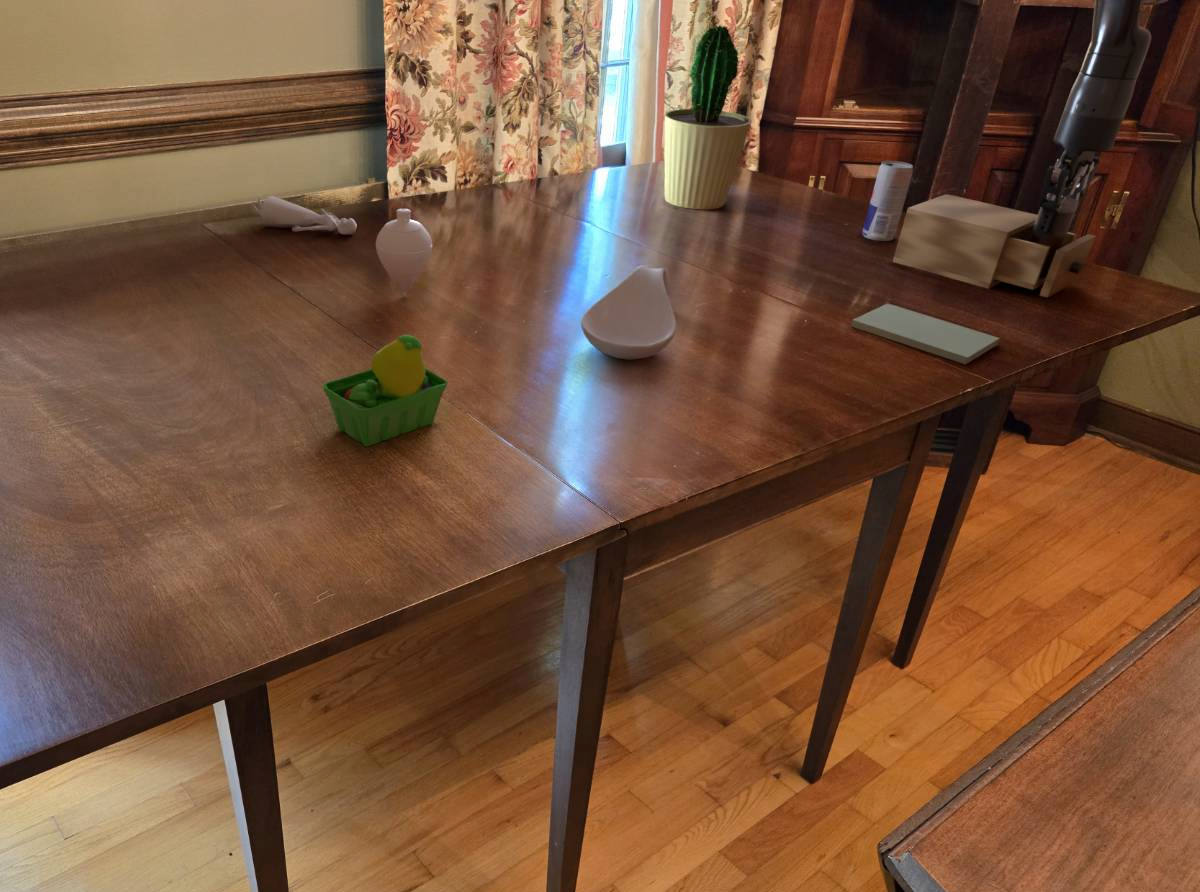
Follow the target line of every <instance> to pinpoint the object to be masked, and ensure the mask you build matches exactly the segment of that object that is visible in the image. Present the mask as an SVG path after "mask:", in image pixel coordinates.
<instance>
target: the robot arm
mask: <svg viewBox="0 0 1200 892" xmlns="http://www.w3.org/2000/svg"><path fill="white" fill-rule="evenodd" d="M1165 2H1168V0H1094V7H1093V17H1092V24H1091V25H1092V26H1091V27H1092V28H1091V38H1090V43H1089V44H1088V48H1087V50H1086V53H1085V56H1084V59H1083V61H1082V64H1081V67H1080V70H1079V73H1078V75H1077V77H1076V79H1075V81H1074V83H1073V85H1072V87H1071V90H1070V92H1069V95H1068V98H1067V100H1066V103H1065V106H1064V109H1063V111H1062V115H1061V116H1060V120H1059V123H1058V125H1057V128H1056V131H1055V134H1054V137H1053V142H1054V143H1055V144H1056V145H1057V146H1059V147H1063V149H1064V151H1063V152H1062V154H1061V156H1060V158H1058V159H1057V160H1056V162H1055V164H1054V166H1053V165H1050V166H1049V167H1048V168H1047V170H1046V175H1045V177H1044V178H1045V179H1044V183H1043V186H1042V189H1041V193H1040V196H1039V197H1040V198H1039V201H1038V204H1037V205H1038V206H1037V207H1039V208H1041V207H1042V208H1041V209H1043V211H1042V214H1041V216H1040V219H1039V222H1038V225H1037V227H1036V230H1035V235H1036V236H1039V237H1043V238H1049V237H1051V236H1052V233H1053V231H1054V228H1055V225H1056V223H1057V220H1058V217H1059V215H1060V212H1061V210H1062V209H1063V206H1064V204H1065V201H1066V199H1067V198H1068V197H1069V198H1073V199H1075V200H1077V201H1079V200H1080V201H1081V200H1082V199H1083V198H1084V196H1085V195H1086V192H1087V190H1088V187H1089V185H1090V183H1091V181H1092V178H1093V176H1094V174H1095V173H1096V169H1097V168H1098V165H1099V164H1100V162H1101V157H1098V156H1095V155H1096V153H1097V152H1098V153H1099V152H1101V153H1102V152H1107V151H1110V150H1111V149H1112V148H1113V147H1114V144H1115V142H1116V139H1117V137H1118V133H1119V131H1120V128H1121V127H1122V123H1123V121H1124V120H1125V119H1124V118H1125V116H1126V113H1127V110H1128V108H1129V106H1130V103H1131V100H1132V98H1133V94H1134V90H1135V87H1136V82H1137V80H1138V77H1139V74H1140V72H1141V70H1142V67H1143V64H1144V62H1145V59H1146V56H1147V53H1148V51H1149V48H1150V44H1151V41H1152V34H1151V32H1150V30H1148V29H1147V28H1145V27H1142V26H1140V25H1139V21H1140V11H1141V6H1154V5H1155V6H1156V5H1160V4H1163V3H1165ZM1053 195H1055V196H1056V197H1055V200H1051V198H1052V196H1053Z"/></svg>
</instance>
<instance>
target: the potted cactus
mask: <svg viewBox="0 0 1200 892" xmlns="http://www.w3.org/2000/svg"><path fill="white" fill-rule="evenodd" d="M708 24H710V25H711V26H710V27H709V28H707V30H703V33H701V34H702V35H701V34H699V37H700V39H698V40H697V41H694V44H695V45H697V46H696V47H694V49H693V48H691V50H692V51H693V54H694V55H693V57H690V60H691V64H690V66H689V67H688V66H687V68H688V69H689V70H688V69H684V71H685V72H688V73H689V74H686V77H689V75H690V82H689V84H687V87H689V88H691V89H690V93H688V94H687V95H686V97H687V98H686V99H690V100H689V102H690V104H689V105H688V106H689V108H678V109H673V110H669V111H666V112H665V113H664V200H665V202H667V203H668V204H670V205H673V206H675V207H680V208H685V209H689V210H716V209H719V208H722V207H724V205H725V204H726V202H727V198H728V195H729V192H730V189H731V186H732V183H733V180H734V178H735V177H734V176H735V173H736V170H737V167H738V164H739V161H740V158H741V155H742V152H743V149H744V145H745V142H746V139H747V136H748V133H749V130H750V126H751V124H752V119H751V118H750V117H749V116H746V115H743V114H740V113H736V112H732V111H731V112H730V111H727V109H726V106H725V105H727V103H726V102H728V103H731V101H730V100H729V99H728V98H730V97H732V95H733V93H731V92H730V91H734V88H735V89H737V88H736V86H734V82H735V81H736V80H738V78H737V77H739V75H741V74H740V72H741V73H743V70H741V69H742V64H741V60H739V59H741V56H739V52H738V50H739V49H740V47H738V48H737V46H736V45H737V42H736V41H738V39H737V40H736V38H734V35H733V34H734V33H735V30H733V28H734V26H732V27H731V28H729V27H728V26H725V25H722V24H719V25H714V26H712V24H711V21H710V22H709V23H708ZM730 32H731V33H730ZM735 44H736V45H735ZM736 48H737V49H736ZM689 52H690V53H691V51H689ZM741 53H743V52H740V54H741ZM692 62H693V63H692ZM739 66H740V67H739ZM738 72H739V73H738ZM733 81H734V82H733ZM731 85H733V87H734V88H732V86H731ZM690 97H691V98H690ZM727 97H728V98H727Z"/></svg>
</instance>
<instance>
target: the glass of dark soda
mask: <svg viewBox="0 0 1200 892" xmlns="http://www.w3.org/2000/svg"><path fill="white" fill-rule="evenodd" d="M1055 197H1056V196H1055V194H1054V195H1053V196H1052V198H1051V200H1055ZM1079 203H1080V201H1079V200H1078V201H1077V200H1075V199H1073V198H1069V197H1068V198H1067V199H1066V201H1065V204H1064V206H1063V209H1062V210H1061V212H1060V215H1059V217H1058V220H1057V223H1056V225H1055V228H1054V231H1053V233H1052V236H1051V237H1049V238H1043V237H1039V236H1036V235H1035V230H1036V227H1037V225H1038V222H1039V219H1040V216H1041V214H1042V211H1043V209H1041V208H1042V207H1039V210H1038V213H1037V215H1038V216H1037V219H1036V221H1035V224H1034V227H1033V230H1032V232H1031V235H1030V238H1029V241H1028V242H1032V243H1036V244H1040V245H1045V246H1049V247H1050V250H1049V253H1048V255H1047V258H1046V261H1045V263H1044V266H1043V269H1042V271H1041V274H1040V277H1039V278H1046V277H1047V274H1048V272H1049V269H1050V267H1051V264H1052V261H1053V259H1054V256H1055V253H1056V251H1057V250H1058V249H1060V248H1062V245H1063V243H1064V240H1065V238H1066V235H1067V232H1069V229H1070V227H1071V224H1072V222H1073V219H1074V217H1075V215H1076V214H1075V213H1076V212H1077V208H1078V206H1079Z"/></svg>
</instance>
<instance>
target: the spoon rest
mask: <svg viewBox="0 0 1200 892" xmlns="http://www.w3.org/2000/svg"><path fill="white" fill-rule="evenodd" d="M669 289H670V288H669V281H668V275H667V270H666V269H665V268H664V267H661V268H660V267H659V268H652V267H648V266H646V265H644V264H641V265H638V266H637V267H636V268H634V270H633V271H632V272H631V273H630V274H629V275H628V276H627V277H626V278H625V279H624V280H623V281H621V282H620V283H619V284H618V285H617V286H615V287H614V288H613V289H612V290H610V291H609V292H607V293H606V294H605V295H603V296H602V297H601V298H600V299H599V300H597V301H596V302H595V303H594V304H593V305H591V307H590V308H588V309H587V310H586V311H585V312H584V314H583V315H582V317H581V319H580V328H581V330H582V333H583V335H584V337H585V338H586V339H587V341H588V342H589V343H590V344H591V345H592V346H593V347H594V348H595V349H597V350H598V351H599V352H601V353H602V354H605V355H607V356H609V357H612V358H615V359H620V360H627V361H628V360H629V361H632V360H640V359H646V358H649V357H652V356H654V355H656V354H658V353H659V352H661V351H662V350H664V348H666V347H667V346H668V345H669V344H670V342H671V341H672V339H673V338H674V336H675V334H676V332H677V320H676V316H675V312H674V310H673V307H672V304H671V301H670V299H669V297H670V296H669V292H670V290H669Z"/></svg>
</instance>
